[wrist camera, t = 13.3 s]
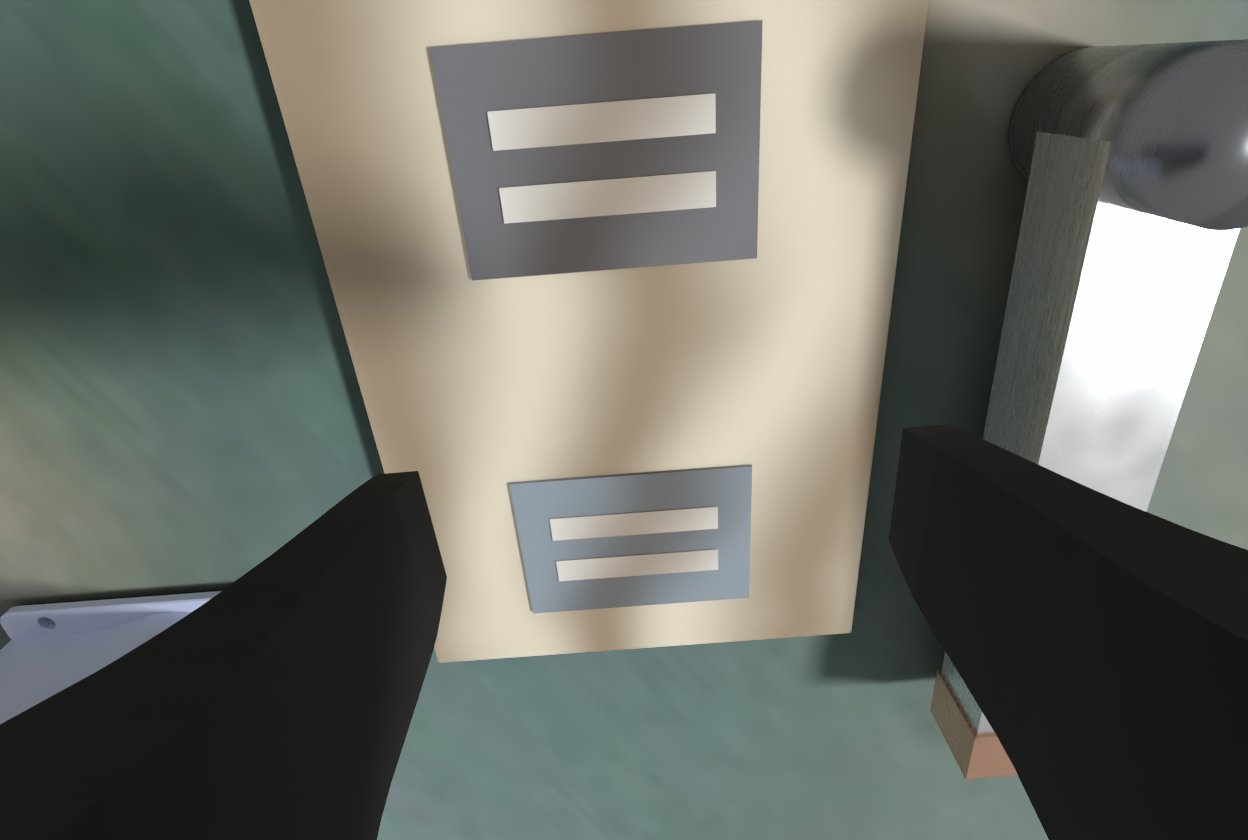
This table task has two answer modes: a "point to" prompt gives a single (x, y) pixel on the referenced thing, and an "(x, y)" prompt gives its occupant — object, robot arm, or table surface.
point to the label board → (614, 294)
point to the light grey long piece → (1110, 279)
